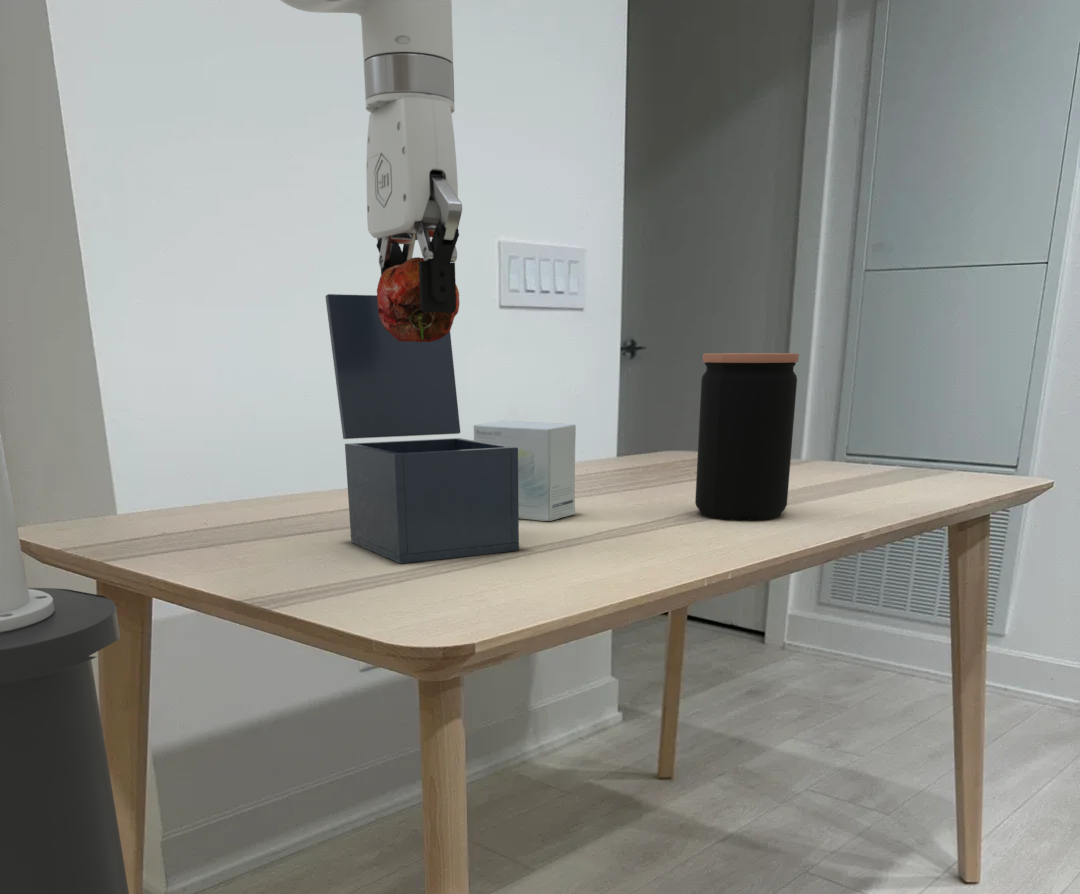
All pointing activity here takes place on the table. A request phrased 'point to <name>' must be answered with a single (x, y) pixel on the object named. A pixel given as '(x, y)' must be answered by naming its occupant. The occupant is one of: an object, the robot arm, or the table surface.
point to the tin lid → (388, 375)
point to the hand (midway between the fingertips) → (418, 312)
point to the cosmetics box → (539, 465)
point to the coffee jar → (745, 435)
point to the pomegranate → (409, 306)
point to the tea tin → (433, 498)
